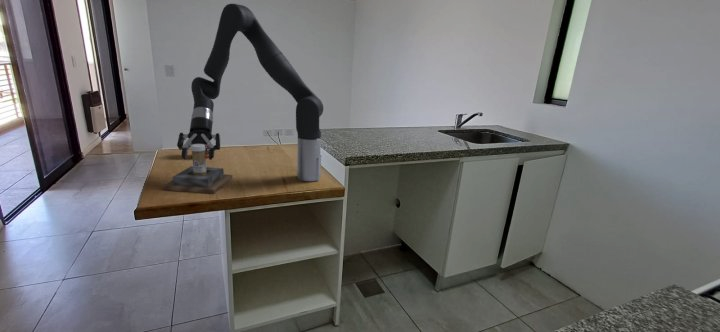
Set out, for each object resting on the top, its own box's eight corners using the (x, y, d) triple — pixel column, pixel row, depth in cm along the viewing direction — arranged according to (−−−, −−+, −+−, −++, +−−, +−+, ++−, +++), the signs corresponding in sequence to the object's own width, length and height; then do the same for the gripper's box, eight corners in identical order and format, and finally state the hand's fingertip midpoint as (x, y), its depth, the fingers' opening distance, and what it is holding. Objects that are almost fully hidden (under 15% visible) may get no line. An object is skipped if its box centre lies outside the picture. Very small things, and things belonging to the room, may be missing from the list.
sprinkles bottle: (192, 181, 122) (189, 146, 118) (195, 177, 126) (193, 143, 122) (205, 181, 123) (203, 146, 119) (208, 177, 127) (206, 143, 123)
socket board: (232, 178, 132) (232, 167, 131) (214, 193, 117) (213, 181, 116) (187, 175, 132) (186, 164, 131) (163, 189, 117) (162, 177, 116)
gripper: (179, 115, 123) (173, 153, 116) (220, 116, 127) (216, 153, 119) (184, 126, 130) (178, 163, 122) (223, 127, 133) (220, 163, 126)
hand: (197, 158), depth 121 cm, fingers open, 8 cm apart
